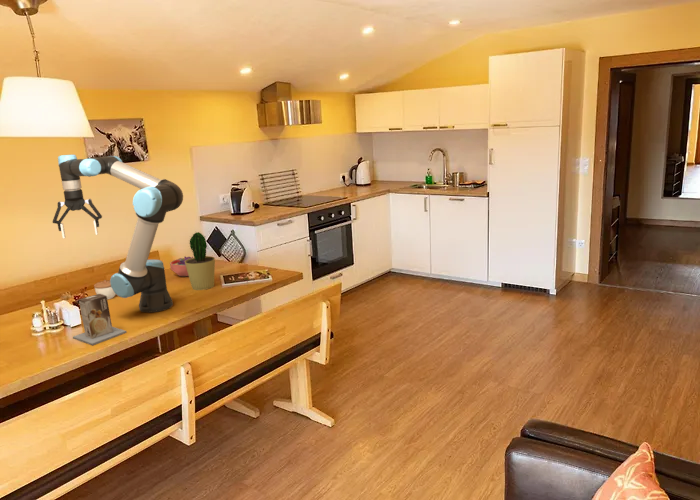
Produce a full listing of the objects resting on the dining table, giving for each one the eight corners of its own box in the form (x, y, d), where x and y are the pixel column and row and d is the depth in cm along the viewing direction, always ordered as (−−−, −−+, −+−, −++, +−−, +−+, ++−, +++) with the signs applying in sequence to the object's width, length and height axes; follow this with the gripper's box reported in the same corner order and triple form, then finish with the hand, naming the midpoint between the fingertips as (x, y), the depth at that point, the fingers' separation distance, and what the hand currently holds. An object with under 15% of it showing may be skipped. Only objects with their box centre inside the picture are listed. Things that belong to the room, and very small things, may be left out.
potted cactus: (201, 281, 299) (195, 227, 292) (224, 283, 292) (217, 228, 285) (181, 289, 285) (174, 233, 278) (204, 292, 279) (197, 235, 272)
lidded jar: (105, 294, 285) (102, 277, 283) (123, 294, 283) (120, 277, 281) (91, 301, 275) (88, 283, 273) (110, 301, 273) (107, 283, 270)
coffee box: (106, 328, 233) (100, 293, 229) (113, 332, 228) (107, 295, 225) (84, 335, 226) (78, 299, 222) (91, 339, 222) (84, 301, 218)
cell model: (192, 269, 326) (190, 250, 323) (209, 274, 312) (206, 255, 309) (165, 275, 315) (163, 256, 312) (181, 281, 301) (178, 262, 298)
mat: (106, 326, 238) (106, 324, 238) (126, 332, 229) (126, 330, 229) (73, 338, 226) (72, 336, 226) (92, 345, 217) (92, 343, 217)
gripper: (103, 186, 252) (110, 231, 257) (42, 191, 244) (51, 237, 249) (102, 187, 245) (109, 234, 250) (39, 193, 237) (48, 240, 242)
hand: (80, 236), depth 249 cm, fingers open, 13 cm apart
